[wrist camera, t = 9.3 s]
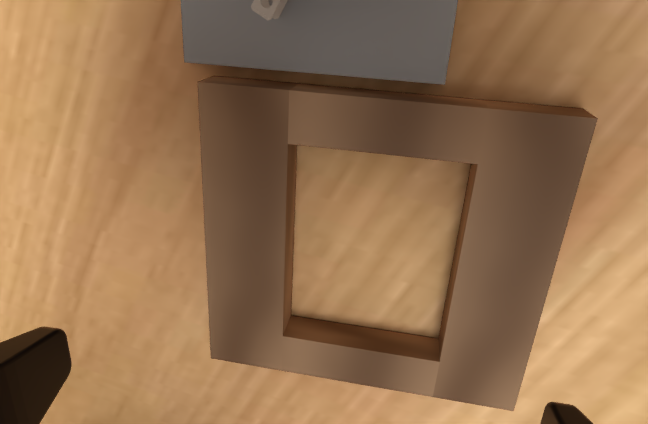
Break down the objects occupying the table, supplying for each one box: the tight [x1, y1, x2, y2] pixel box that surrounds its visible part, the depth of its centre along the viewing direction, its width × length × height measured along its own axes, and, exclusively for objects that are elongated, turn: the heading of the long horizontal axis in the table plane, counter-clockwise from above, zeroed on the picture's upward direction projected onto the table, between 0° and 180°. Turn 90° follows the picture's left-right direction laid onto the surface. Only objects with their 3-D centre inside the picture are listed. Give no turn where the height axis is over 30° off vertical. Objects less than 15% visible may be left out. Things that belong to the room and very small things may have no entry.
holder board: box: [198, 76, 598, 411], centre depth 21 cm, size 14×13×2 cm
